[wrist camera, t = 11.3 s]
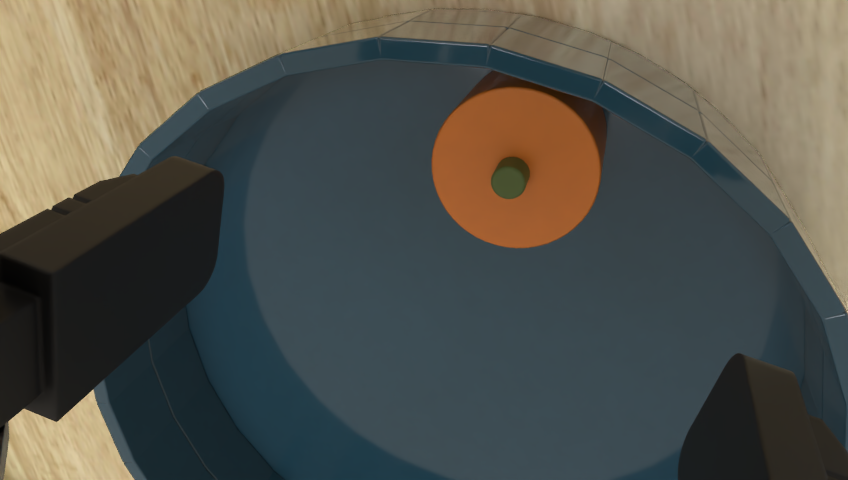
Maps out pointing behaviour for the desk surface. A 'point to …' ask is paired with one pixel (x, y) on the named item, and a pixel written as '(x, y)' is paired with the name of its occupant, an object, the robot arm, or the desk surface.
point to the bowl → (464, 275)
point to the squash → (519, 161)
